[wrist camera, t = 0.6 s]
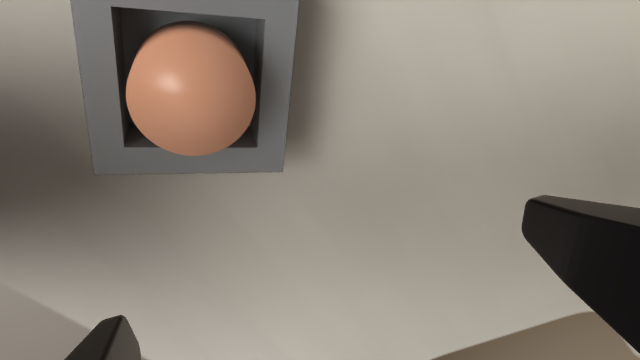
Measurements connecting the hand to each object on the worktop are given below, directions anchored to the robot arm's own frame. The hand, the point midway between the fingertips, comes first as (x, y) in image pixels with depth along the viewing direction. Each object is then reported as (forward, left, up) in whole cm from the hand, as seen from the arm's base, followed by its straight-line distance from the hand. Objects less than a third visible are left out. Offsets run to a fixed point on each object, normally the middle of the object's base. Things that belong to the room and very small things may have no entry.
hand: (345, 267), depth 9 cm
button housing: (-3, +1, -11) cm, 12 cm away
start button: (-3, +1, -10) cm, 10 cm away
